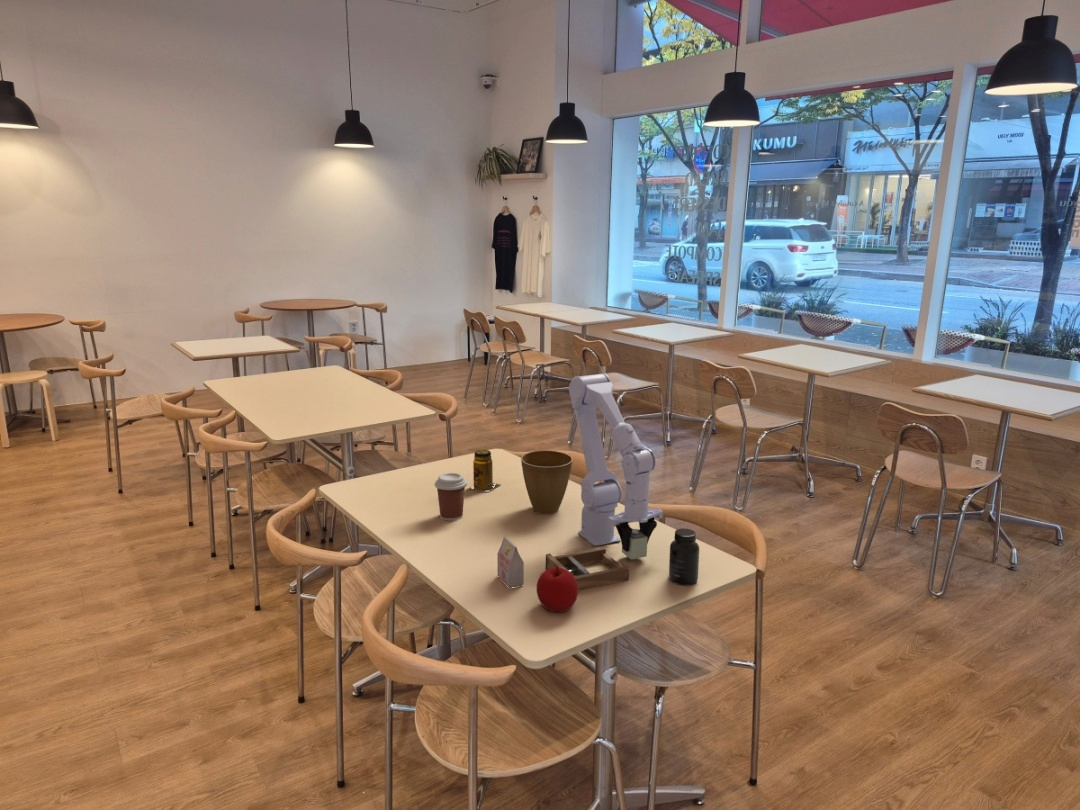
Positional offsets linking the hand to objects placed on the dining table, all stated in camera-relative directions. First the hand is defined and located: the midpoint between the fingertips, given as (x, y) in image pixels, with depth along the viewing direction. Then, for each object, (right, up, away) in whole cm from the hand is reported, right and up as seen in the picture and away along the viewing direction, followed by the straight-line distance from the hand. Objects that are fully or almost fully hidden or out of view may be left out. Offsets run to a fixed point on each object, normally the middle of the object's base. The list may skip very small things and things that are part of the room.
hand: (634, 548), depth 183 cm
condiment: (-41, +10, +50) cm, 65 cm away
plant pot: (-22, +5, +32) cm, 39 cm away
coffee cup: (-49, +4, +26) cm, 56 cm away
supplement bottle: (+10, -6, -10) cm, 15 cm away
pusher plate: (-16, -5, -10) cm, 20 cm away
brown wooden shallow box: (-12, -5, -8) cm, 16 cm away
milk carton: (-31, -6, -11) cm, 33 cm away
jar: (0, -2, 0) cm, 2 cm away
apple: (-20, -9, -23) cm, 31 cm away
